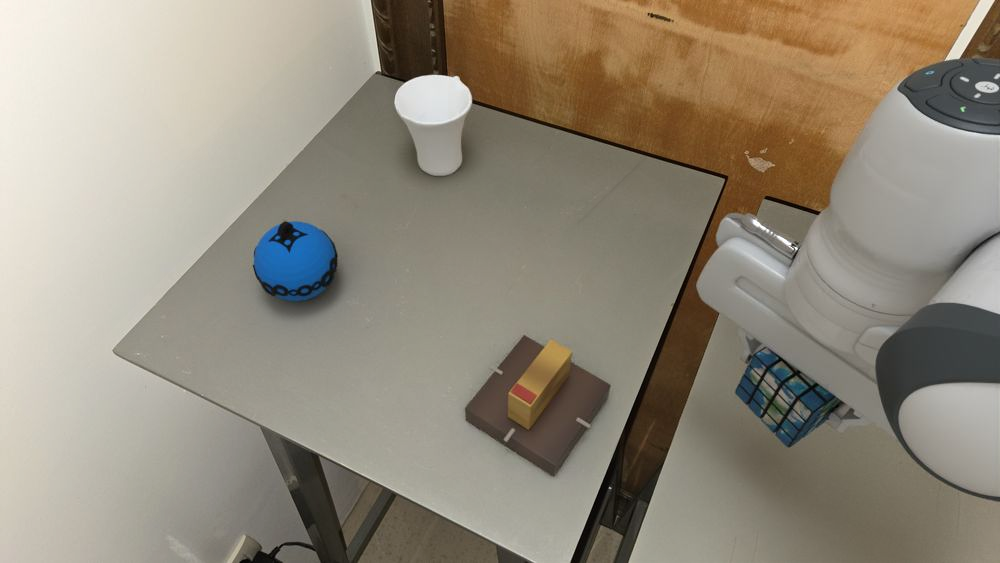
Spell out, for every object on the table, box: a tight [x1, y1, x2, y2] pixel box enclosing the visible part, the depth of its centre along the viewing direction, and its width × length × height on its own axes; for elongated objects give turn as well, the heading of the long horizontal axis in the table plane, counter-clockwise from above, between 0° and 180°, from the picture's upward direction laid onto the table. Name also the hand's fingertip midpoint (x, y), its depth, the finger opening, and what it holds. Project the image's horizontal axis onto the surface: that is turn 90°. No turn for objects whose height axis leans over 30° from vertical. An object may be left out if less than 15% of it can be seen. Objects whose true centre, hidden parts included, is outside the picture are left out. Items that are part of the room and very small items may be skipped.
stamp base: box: [464, 334, 612, 477], centre depth 72 cm, size 11×11×3 cm
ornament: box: [252, 220, 339, 302], centre depth 78 cm, size 9×9×10 cm
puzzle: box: [734, 347, 841, 449], centre depth 59 cm, size 6×6×6 cm
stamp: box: [508, 338, 573, 430], centre depth 69 cm, size 7×2×5 cm, turn 145°
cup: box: [393, 74, 473, 177], centre depth 90 cm, size 9×9×10 cm
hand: (794, 390), depth 60 cm, fingers closed on puzzle, 6 cm apart
